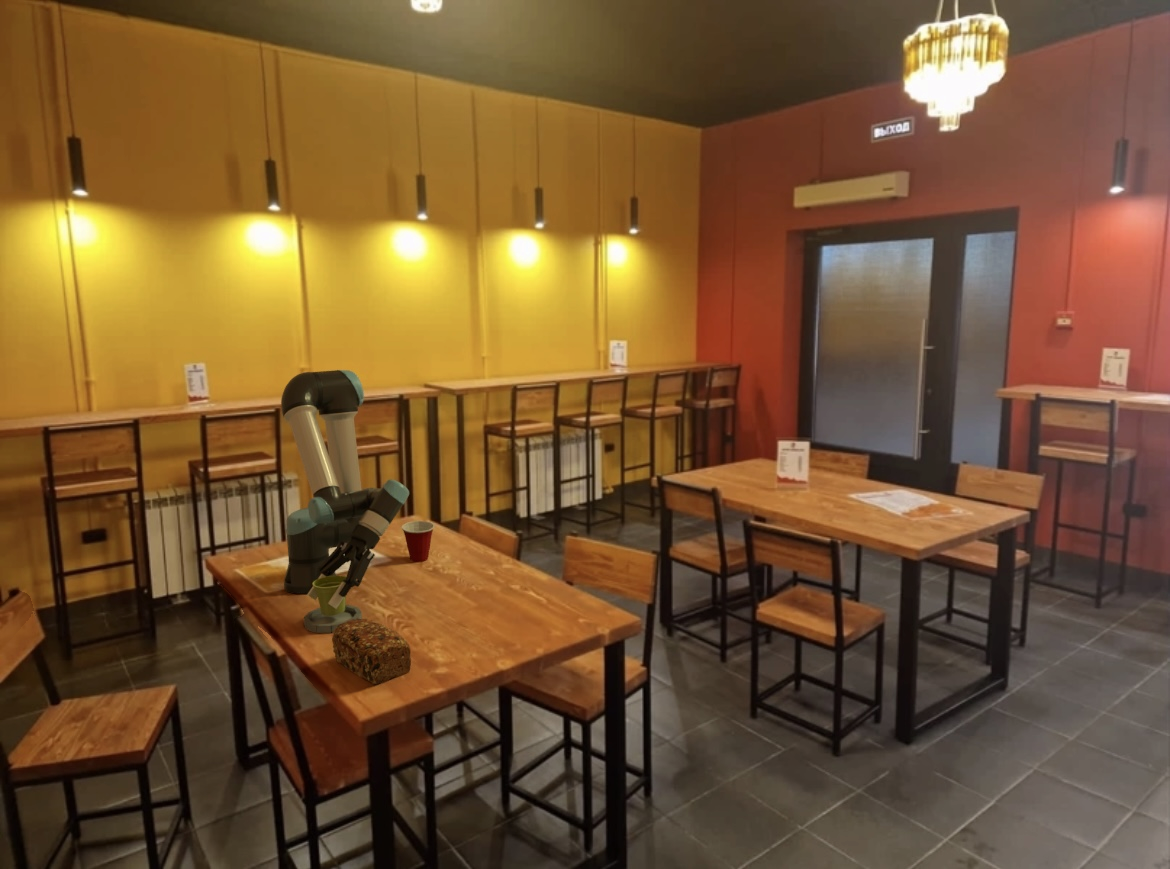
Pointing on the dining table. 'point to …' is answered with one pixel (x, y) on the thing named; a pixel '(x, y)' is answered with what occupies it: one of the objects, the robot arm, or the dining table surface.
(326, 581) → the plant pot
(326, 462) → the robot arm
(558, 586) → the dining table surface
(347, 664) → the bread
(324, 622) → the saucer
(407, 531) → the plastic cup
